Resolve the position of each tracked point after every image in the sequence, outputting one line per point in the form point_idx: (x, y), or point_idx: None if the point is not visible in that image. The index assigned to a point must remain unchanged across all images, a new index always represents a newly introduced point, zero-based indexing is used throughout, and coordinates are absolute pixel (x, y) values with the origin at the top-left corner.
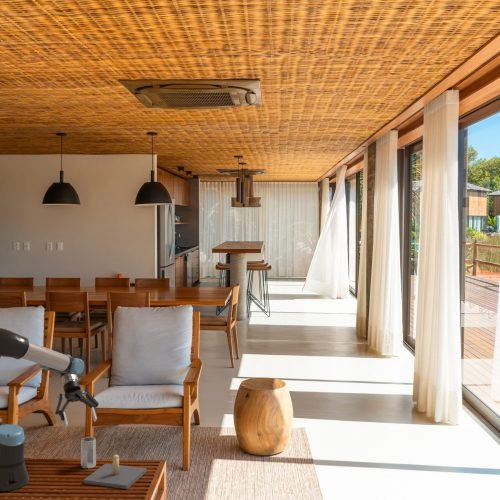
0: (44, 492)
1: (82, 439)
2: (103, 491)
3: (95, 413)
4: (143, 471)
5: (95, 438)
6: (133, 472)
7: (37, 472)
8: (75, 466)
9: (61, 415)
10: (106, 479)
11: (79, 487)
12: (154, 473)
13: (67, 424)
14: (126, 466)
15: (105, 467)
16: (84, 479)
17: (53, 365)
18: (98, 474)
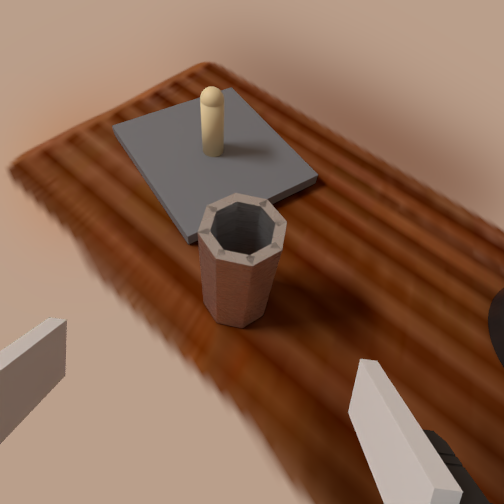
0: (437, 208)
1: (274, 245)
2: (285, 122)
3: (4, 349)
4: (134, 120)
5: (204, 212)
6: (164, 127)
7: (449, 386)
8: (282, 334)
9: (465, 478)
10: (257, 138)
11: (333, 174)
12: (106, 119)
13: (366, 360)
14: (148, 170)
15: None
16: (314, 175)
17: None
18: (260, 177)
